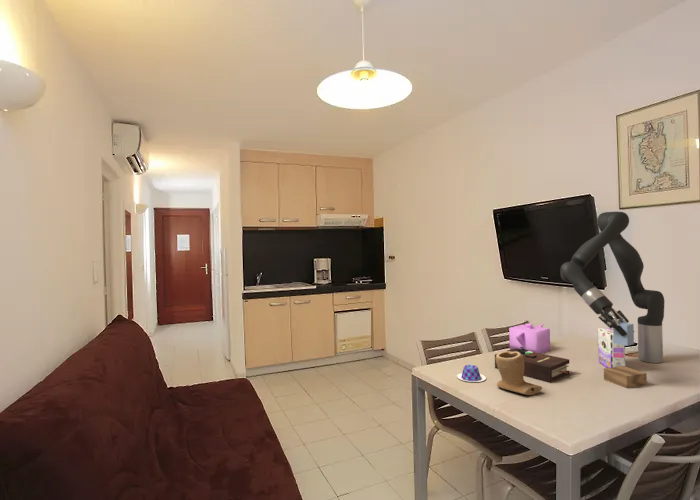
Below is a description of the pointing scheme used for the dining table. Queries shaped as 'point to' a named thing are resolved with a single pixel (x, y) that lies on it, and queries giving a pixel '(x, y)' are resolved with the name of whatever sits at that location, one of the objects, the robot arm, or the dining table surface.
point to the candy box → (610, 349)
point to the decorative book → (542, 365)
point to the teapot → (530, 338)
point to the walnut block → (625, 376)
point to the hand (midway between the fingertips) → (628, 334)
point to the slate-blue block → (626, 339)
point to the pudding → (471, 374)
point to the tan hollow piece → (514, 373)
